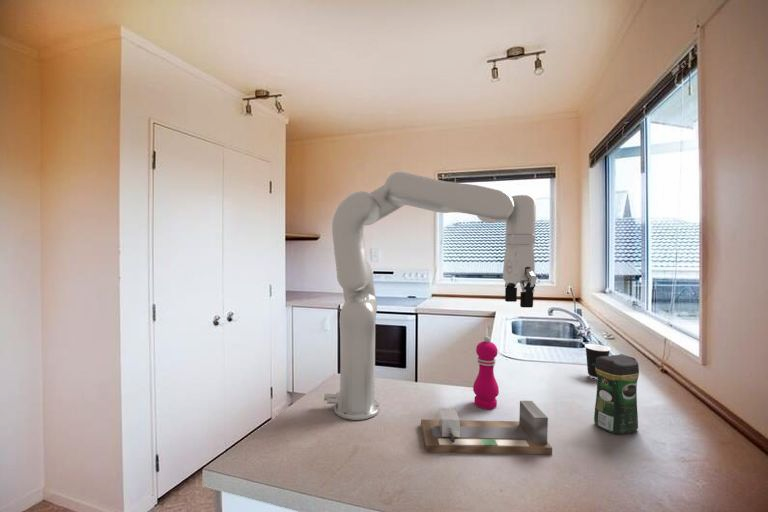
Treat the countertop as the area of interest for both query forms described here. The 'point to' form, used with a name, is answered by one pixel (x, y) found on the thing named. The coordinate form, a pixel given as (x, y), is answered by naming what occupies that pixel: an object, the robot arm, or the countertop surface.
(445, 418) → the gauge slider
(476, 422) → the base
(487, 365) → the pepper mill
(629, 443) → the countertop surface
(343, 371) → the robot arm
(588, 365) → the dixie cup
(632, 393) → the coffee jar
